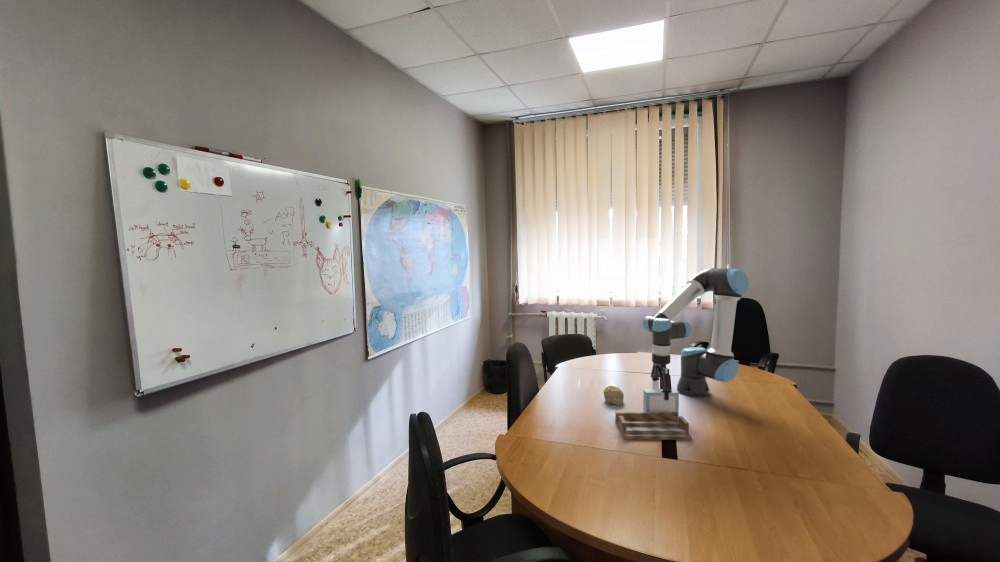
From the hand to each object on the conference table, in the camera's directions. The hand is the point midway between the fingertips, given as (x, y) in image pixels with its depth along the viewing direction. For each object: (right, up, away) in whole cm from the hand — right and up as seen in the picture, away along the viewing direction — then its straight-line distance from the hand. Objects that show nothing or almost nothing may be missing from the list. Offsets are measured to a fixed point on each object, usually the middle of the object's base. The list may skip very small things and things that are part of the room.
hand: (660, 400), depth 173 cm
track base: (-8, -9, -11) cm, 17 cm away
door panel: (+1, -8, +1) cm, 8 cm away
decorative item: (-15, -7, +19) cm, 25 cm away
